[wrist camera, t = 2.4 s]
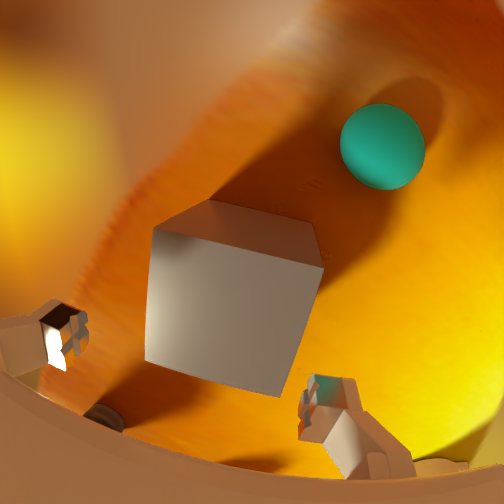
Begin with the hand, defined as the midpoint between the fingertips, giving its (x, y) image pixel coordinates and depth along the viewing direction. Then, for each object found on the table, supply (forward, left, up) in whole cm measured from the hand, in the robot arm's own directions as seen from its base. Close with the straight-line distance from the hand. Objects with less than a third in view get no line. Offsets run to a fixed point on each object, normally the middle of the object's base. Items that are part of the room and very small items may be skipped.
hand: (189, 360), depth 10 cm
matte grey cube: (-1, 0, -12) cm, 12 cm away
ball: (+4, -10, -10) cm, 15 cm away
